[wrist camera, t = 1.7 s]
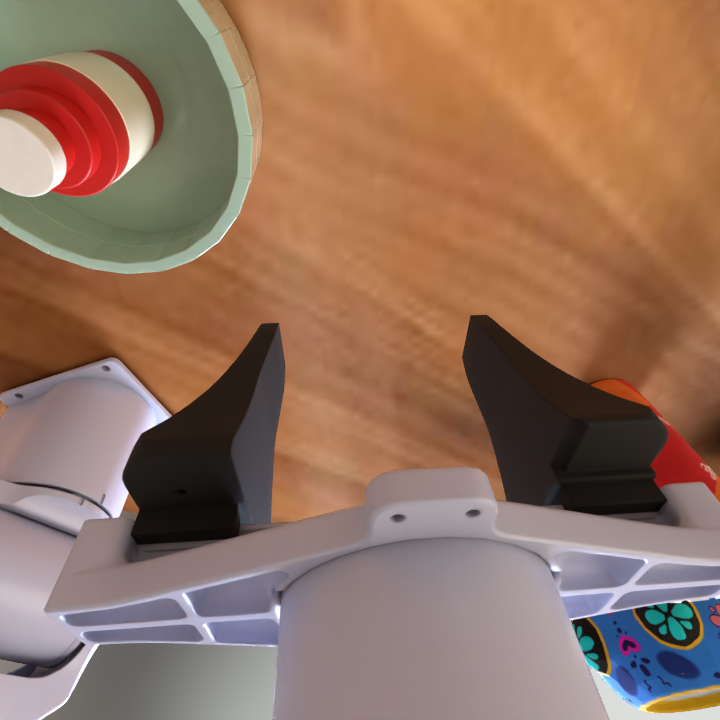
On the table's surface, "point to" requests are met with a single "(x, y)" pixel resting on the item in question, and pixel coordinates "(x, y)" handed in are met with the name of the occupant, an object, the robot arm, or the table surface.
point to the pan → (177, 142)
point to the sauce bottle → (74, 123)
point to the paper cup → (669, 450)
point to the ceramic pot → (657, 654)
